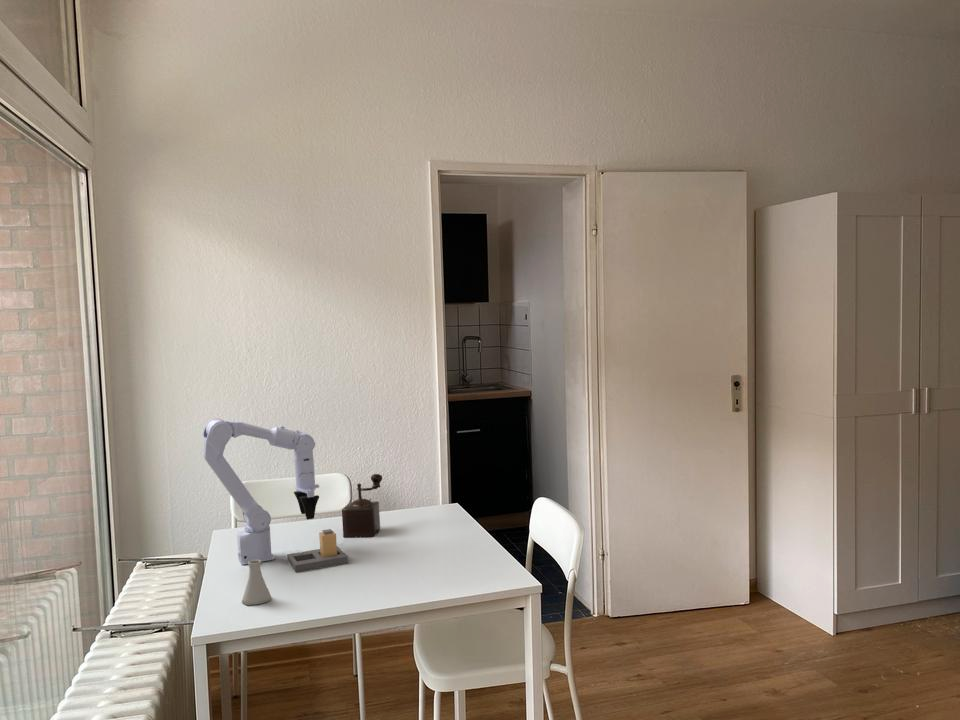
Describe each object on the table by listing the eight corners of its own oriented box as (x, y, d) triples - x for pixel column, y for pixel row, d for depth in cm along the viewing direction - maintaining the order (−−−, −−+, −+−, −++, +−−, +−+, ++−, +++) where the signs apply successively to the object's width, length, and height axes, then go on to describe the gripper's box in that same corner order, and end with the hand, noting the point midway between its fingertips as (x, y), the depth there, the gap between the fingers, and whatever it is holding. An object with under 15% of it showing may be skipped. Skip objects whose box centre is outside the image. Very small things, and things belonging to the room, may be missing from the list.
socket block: (295, 572, 210) (295, 564, 210) (287, 561, 221) (286, 553, 221) (348, 563, 217) (347, 555, 216) (337, 552, 227) (337, 545, 227)
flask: (243, 608, 185) (240, 567, 184) (240, 598, 191) (238, 559, 191) (273, 602, 188) (271, 563, 187) (269, 593, 194) (267, 555, 194)
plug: (323, 563, 218) (322, 533, 217) (320, 559, 221) (319, 530, 221) (337, 560, 219) (335, 531, 219) (334, 557, 223) (332, 527, 223)
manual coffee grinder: (376, 537, 242) (373, 482, 242) (342, 538, 243) (339, 482, 243) (386, 524, 258) (383, 472, 257) (354, 525, 259) (351, 473, 258)
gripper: (323, 474, 226) (326, 519, 227) (312, 467, 239) (315, 509, 240) (299, 477, 223) (302, 522, 224) (290, 469, 236) (292, 512, 237)
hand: (307, 516), depth 231 cm, fingers open, 7 cm apart
